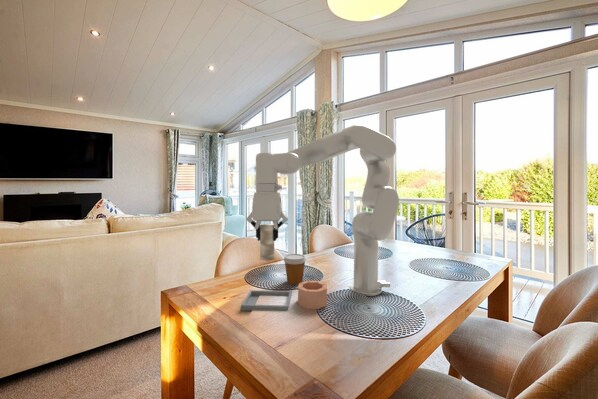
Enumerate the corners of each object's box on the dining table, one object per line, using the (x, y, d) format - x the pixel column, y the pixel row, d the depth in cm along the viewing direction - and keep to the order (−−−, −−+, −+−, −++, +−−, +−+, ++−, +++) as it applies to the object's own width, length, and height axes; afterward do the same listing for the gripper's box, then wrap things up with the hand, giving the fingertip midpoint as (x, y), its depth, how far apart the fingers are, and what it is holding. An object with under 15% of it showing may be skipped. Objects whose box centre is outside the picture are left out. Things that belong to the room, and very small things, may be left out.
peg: (275, 256, 103) (275, 224, 102) (273, 260, 98) (272, 226, 97) (261, 256, 104) (261, 224, 103) (258, 260, 99) (258, 226, 98)
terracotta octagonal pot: (326, 299, 106) (326, 281, 105) (327, 312, 96) (327, 291, 95) (299, 298, 106) (299, 280, 106) (297, 311, 96) (297, 291, 96)
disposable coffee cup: (303, 289, 116) (303, 260, 115) (281, 287, 118) (281, 258, 117) (307, 280, 125) (307, 254, 124) (286, 279, 127) (286, 253, 126)
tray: (291, 296, 108) (291, 291, 108) (288, 312, 95) (288, 306, 95) (250, 295, 109) (250, 290, 109) (241, 311, 96) (241, 305, 96)
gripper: (292, 188, 102) (292, 238, 104) (245, 188, 104) (246, 237, 105) (290, 189, 95) (290, 242, 96) (239, 188, 96) (240, 242, 97)
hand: (267, 239), depth 100 cm, fingers closed on peg, 4 cm apart
